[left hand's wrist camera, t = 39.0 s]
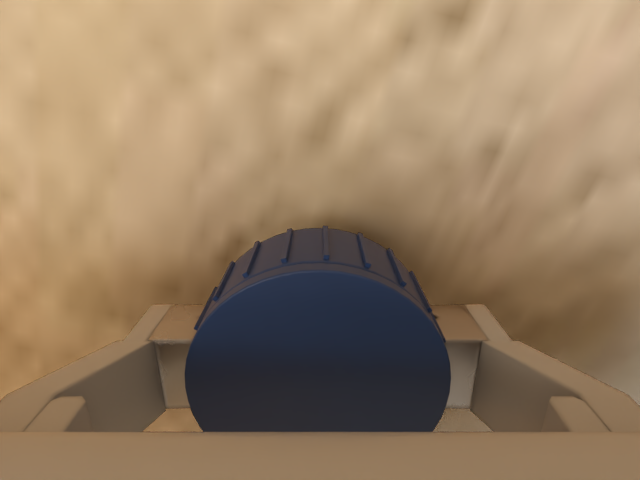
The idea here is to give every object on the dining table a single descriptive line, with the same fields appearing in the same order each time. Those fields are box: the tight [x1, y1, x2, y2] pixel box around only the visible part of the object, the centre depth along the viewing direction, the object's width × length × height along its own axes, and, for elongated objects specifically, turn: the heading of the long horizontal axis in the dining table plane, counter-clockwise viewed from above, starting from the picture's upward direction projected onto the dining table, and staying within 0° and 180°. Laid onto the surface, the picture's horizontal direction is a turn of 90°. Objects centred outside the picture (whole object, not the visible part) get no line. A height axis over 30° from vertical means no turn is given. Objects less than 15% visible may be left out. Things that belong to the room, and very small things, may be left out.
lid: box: [185, 226, 451, 432], centre depth 9 cm, size 5×5×2 cm
